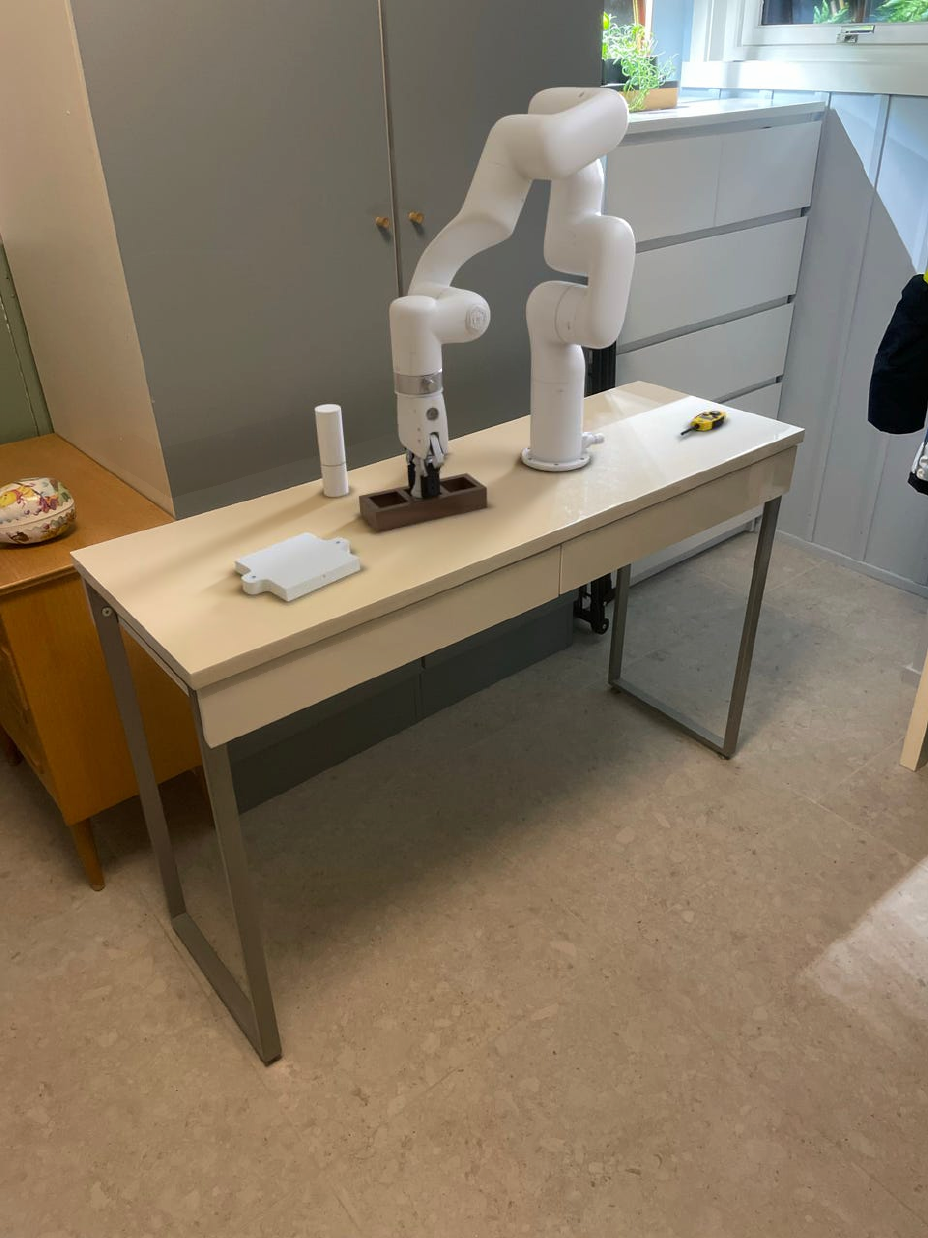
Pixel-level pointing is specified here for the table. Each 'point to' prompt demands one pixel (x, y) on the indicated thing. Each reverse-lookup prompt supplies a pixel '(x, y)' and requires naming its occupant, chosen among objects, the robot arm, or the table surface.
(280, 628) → the table surface
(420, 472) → the rook chess piece
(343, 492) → the tube
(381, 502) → the piece stand
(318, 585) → the mounting plate
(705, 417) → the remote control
